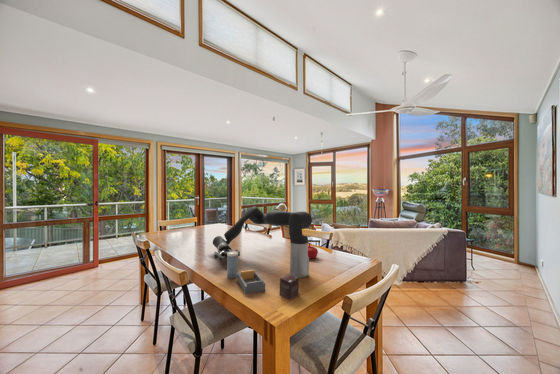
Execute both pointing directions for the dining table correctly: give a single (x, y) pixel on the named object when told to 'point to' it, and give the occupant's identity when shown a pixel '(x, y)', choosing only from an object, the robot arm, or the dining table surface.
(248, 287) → the grey open tray
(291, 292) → the box
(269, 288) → the dining table surface
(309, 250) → the pomegranate
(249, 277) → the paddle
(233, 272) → the jar
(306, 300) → the dining table surface
